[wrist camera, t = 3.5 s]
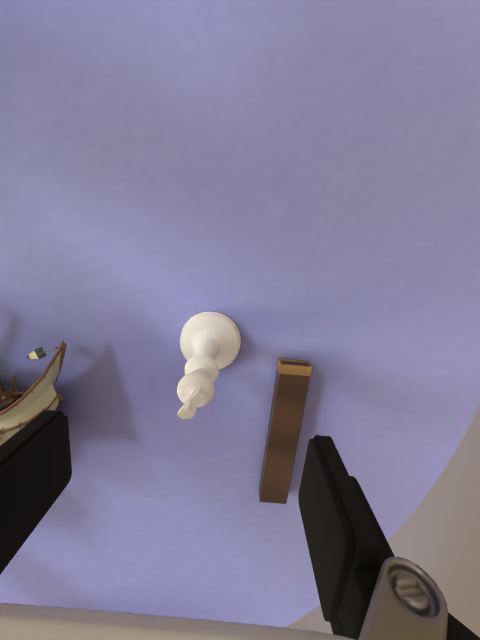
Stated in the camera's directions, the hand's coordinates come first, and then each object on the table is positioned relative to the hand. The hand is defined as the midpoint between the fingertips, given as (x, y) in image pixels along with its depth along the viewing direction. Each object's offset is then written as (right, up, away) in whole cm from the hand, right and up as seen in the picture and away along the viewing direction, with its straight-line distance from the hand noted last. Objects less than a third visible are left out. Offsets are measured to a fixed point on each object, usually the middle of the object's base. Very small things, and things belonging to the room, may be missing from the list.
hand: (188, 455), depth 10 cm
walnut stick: (+6, -5, +14) cm, 16 cm away
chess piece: (0, +4, +12) cm, 12 cm away
